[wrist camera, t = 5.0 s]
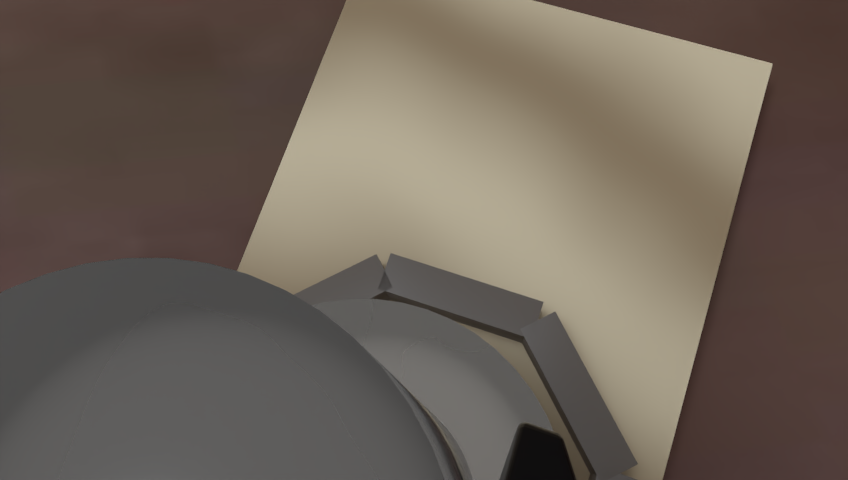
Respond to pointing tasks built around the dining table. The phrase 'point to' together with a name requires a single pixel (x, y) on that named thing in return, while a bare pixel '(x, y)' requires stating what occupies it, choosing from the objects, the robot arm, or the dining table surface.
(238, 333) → the round base post
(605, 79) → the carrier board
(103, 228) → the dining table surface
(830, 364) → the dining table surface
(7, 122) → the dining table surface
